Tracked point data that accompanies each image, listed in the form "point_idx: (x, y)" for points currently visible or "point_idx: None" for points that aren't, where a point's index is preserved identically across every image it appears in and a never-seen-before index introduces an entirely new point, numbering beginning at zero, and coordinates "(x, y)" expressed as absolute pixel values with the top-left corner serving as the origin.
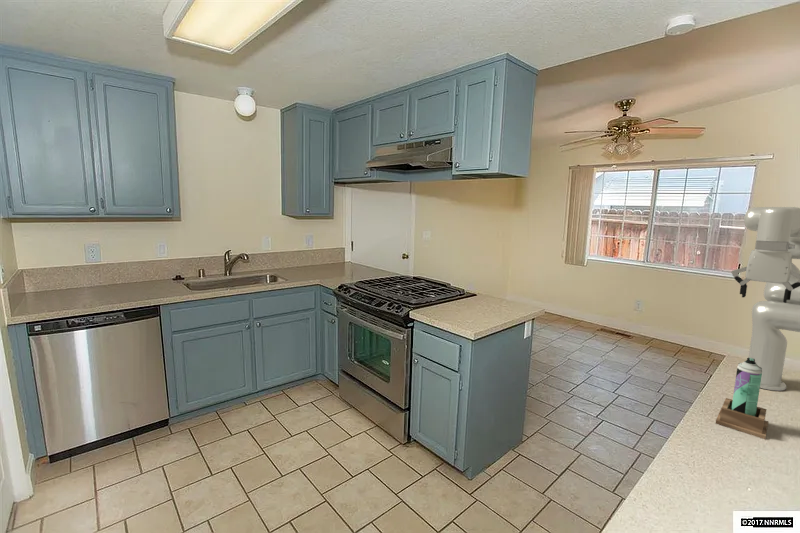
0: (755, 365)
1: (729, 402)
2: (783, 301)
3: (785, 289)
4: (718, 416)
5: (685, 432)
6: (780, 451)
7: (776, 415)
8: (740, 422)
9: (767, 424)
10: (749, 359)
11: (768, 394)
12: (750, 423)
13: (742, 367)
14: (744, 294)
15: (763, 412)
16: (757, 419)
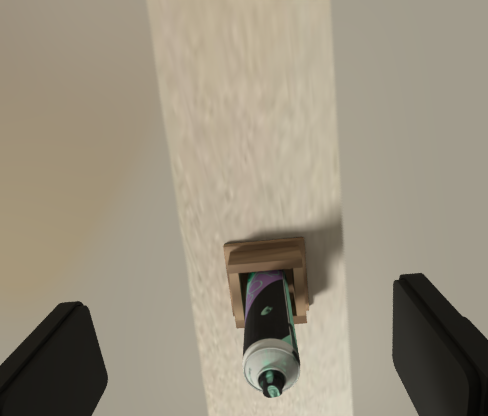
0: (285, 383)
1: (239, 285)
2: (397, 369)
3: (470, 409)
4: (231, 296)
5: (211, 381)
6: (331, 329)
7: (310, 170)
8: None
9: (304, 257)
10: (269, 395)
11: (277, 27)
12: None
13: (258, 390)
14: (91, 404)
15: (300, 281)
16: (296, 323)
